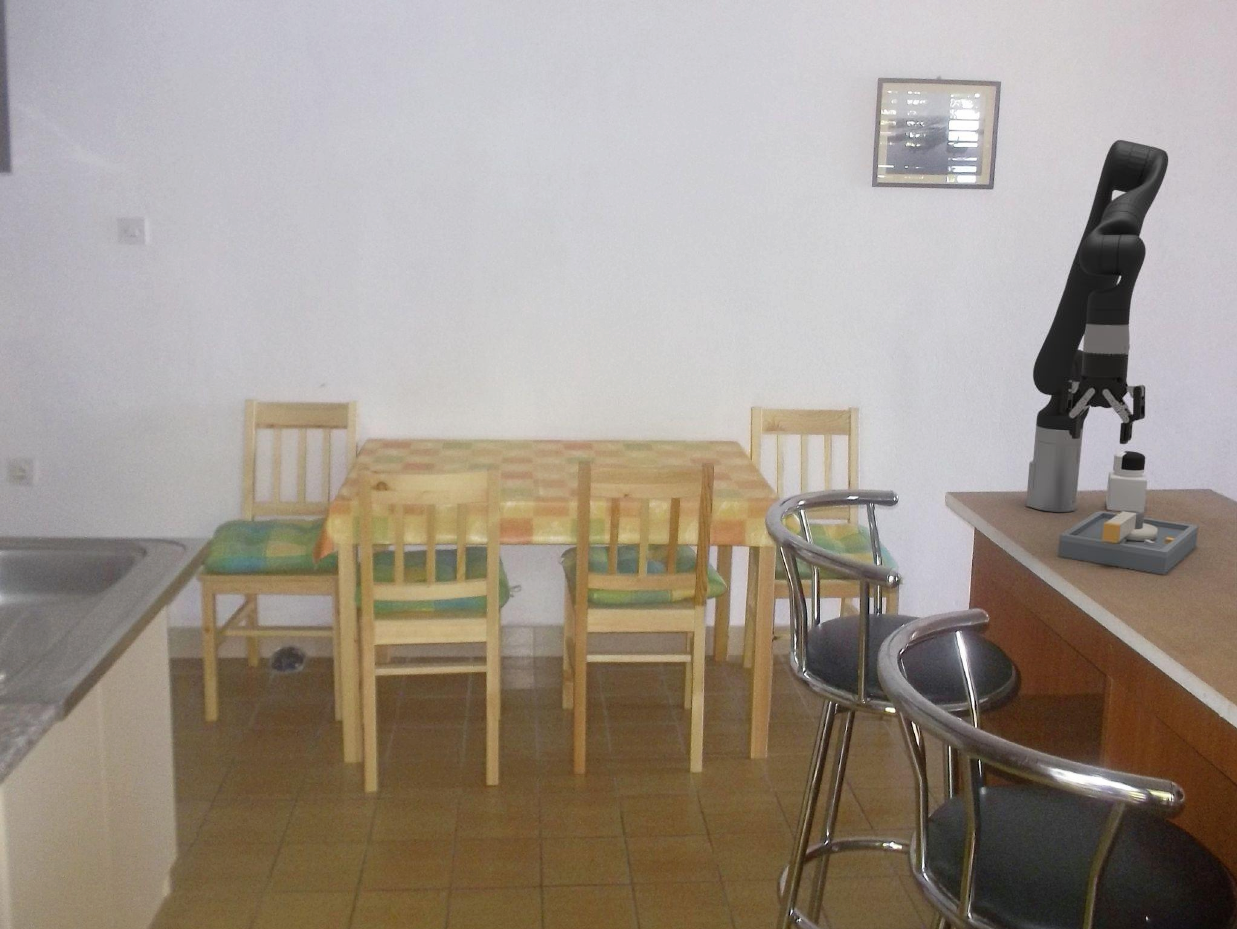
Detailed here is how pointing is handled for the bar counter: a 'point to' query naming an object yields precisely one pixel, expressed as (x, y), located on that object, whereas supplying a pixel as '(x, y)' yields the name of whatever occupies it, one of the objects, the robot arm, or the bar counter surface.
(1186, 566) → the bar counter surface
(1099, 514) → the grey tray
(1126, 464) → the medicine bottle
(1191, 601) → the bar counter surface
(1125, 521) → the white lever with disc
